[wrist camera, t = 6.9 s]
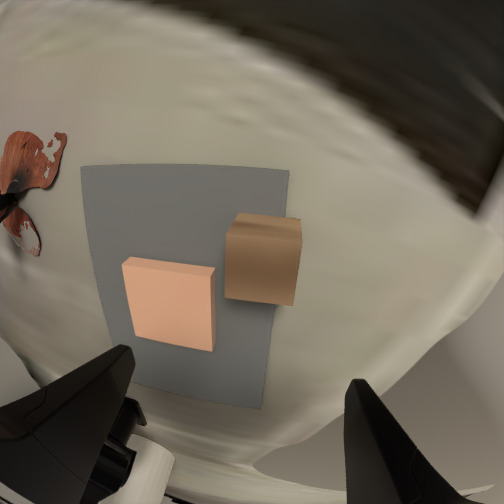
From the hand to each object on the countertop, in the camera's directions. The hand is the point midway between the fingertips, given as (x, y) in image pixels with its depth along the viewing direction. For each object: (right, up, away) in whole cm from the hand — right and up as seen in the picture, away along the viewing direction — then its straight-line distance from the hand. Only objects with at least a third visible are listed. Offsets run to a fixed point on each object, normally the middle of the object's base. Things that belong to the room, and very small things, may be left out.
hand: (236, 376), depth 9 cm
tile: (-6, -3, +14) cm, 16 cm away
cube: (+2, +5, +10) cm, 12 cm away
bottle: (-19, -31, +30) cm, 47 cm away
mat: (-6, -1, +14) cm, 16 cm away
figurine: (-22, +10, +12) cm, 27 cm away
